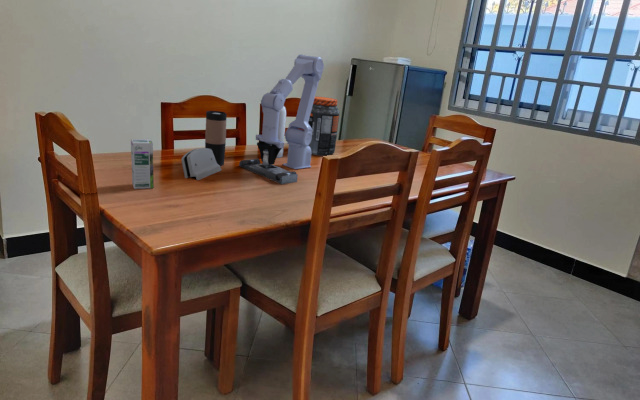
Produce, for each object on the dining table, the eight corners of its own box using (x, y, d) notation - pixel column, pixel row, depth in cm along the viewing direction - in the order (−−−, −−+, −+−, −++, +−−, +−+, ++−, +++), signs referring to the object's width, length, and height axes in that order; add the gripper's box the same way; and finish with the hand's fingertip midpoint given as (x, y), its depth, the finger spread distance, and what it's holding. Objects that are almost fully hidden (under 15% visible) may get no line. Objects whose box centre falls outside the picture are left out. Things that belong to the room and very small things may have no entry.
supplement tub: (305, 147, 219) (310, 94, 211) (336, 151, 218) (342, 99, 209) (299, 153, 204) (305, 97, 196) (332, 158, 203) (339, 101, 194)
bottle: (286, 156, 196) (292, 88, 186) (275, 158, 189) (281, 88, 180) (272, 152, 199) (277, 85, 190) (261, 154, 193) (266, 85, 183)
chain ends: (255, 164, 177) (255, 156, 176) (297, 181, 160) (298, 172, 159) (238, 166, 171) (238, 157, 170) (280, 184, 154) (281, 175, 153)
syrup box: (133, 189, 133) (132, 142, 128) (131, 183, 137) (130, 138, 133) (153, 188, 135) (153, 142, 131) (151, 183, 140) (150, 138, 135)
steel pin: (267, 167, 167) (269, 149, 165) (273, 170, 165) (275, 152, 163) (258, 167, 165) (261, 149, 163) (264, 170, 162) (267, 152, 160)
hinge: (197, 180, 148) (189, 151, 146) (185, 182, 150) (177, 154, 147) (221, 170, 163) (214, 143, 161) (211, 172, 165) (203, 146, 163)
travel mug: (200, 163, 168) (201, 111, 162) (212, 160, 175) (214, 110, 169) (217, 167, 166) (219, 114, 159) (228, 164, 172) (230, 113, 166)
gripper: (249, 123, 162) (247, 158, 166) (274, 131, 152) (271, 168, 157) (265, 122, 167) (262, 157, 171) (289, 130, 157) (286, 166, 161)
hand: (267, 162), depth 164 cm, fingers closed on steel pin, 4 cm apart
